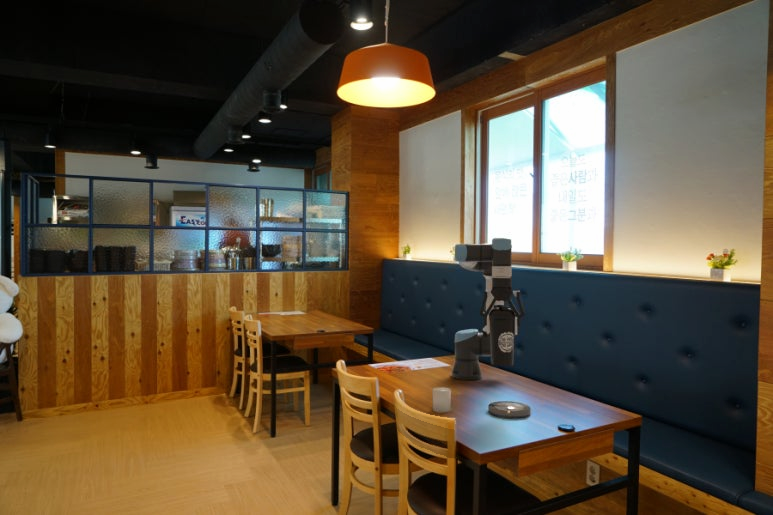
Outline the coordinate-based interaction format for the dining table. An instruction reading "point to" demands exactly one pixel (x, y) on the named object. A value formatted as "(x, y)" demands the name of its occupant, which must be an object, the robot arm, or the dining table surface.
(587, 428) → the dining table surface
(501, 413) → the grey plate
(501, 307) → the water bottle
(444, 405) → the white rounded capsule
